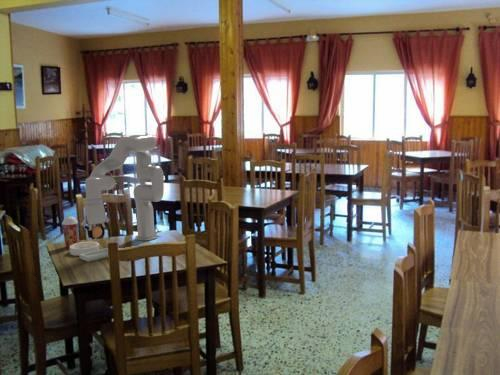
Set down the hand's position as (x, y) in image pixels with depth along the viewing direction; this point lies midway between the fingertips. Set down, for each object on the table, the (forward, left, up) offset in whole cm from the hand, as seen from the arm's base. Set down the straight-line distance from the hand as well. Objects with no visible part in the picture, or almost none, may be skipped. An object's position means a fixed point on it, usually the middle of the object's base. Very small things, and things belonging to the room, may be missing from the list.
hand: (96, 236), depth 269 cm
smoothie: (0, -30, -11) cm, 32 cm away
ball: (0, 0, +2) cm, 2 cm away
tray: (0, 0, -11) cm, 11 cm away
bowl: (0, -15, -11) cm, 18 cm away
